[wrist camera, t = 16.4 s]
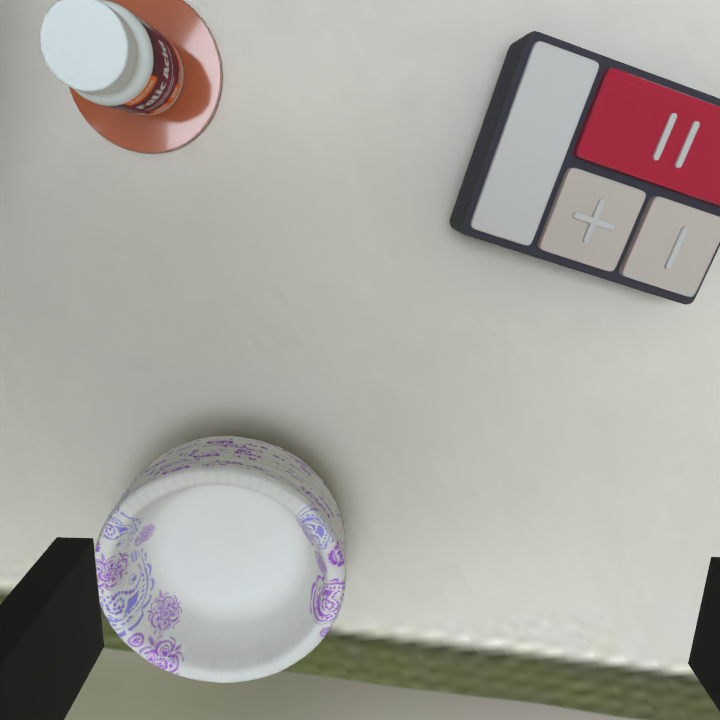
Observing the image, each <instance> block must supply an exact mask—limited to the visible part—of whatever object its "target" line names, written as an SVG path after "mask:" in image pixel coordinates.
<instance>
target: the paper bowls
mask: <svg viewBox="0 0 720 720" xmlns="http://www.w3.org/2000/svg"><path fill="white" fill-rule="evenodd" d="M95 562H96V572H97V582H98V591H99V601H100V605H101V607H102V609H103V612H104V614H105V616H106V618H107V619H108V621H109V623H110V624H111V626H112V628H113V629H114V630H115V631H116V633H117V634H118V635H119V636H120V638H121V639H122V640H123V641H124V642H125V643H126V644H127V645H128V646H129V647H131V648H132V649H133V650H134V651H135V652H136V653H138V654H139V655H140V656H142V657H143V658H144V659H146V660H148V661H149V662H150V663H153V664H154V665H156V666H158V667H160V668H162V669H164V670H166V671H169V672H172V673H174V674H176V675H179V676H183V677H187V678H190V679H195V680H201V681H209V682H221V683H231V682H242V681H247V680H254V679H258V678H262V677H265V676H269V675H271V674H274V673H277V672H280V671H282V670H284V669H286V668H287V667H289V666H291V665H293V664H294V663H296V662H297V661H299V660H300V659H302V658H303V657H305V656H306V655H307V654H308V653H309V652H311V651H312V650H313V649H314V648H315V647H316V646H317V645H318V644H319V643H320V642H321V640H322V639H323V638H324V637H325V636H326V634H327V632H328V631H329V630H330V628H331V627H332V625H333V623H334V621H335V619H336V618H337V616H338V613H339V611H340V608H341V604H342V601H343V595H344V590H345V581H346V541H345V531H344V524H343V520H342V516H341V513H340V510H339V507H338V505H337V504H336V500H335V499H334V498H333V496H332V494H331V492H330V491H329V489H328V487H327V486H326V484H325V483H324V482H323V480H322V479H321V478H320V477H319V476H318V475H317V474H316V472H315V471H313V470H312V469H311V468H310V467H309V466H308V465H307V464H306V463H304V462H303V461H302V460H301V459H300V458H298V457H296V456H295V455H293V454H291V453H290V452H288V451H286V450H283V449H282V448H281V447H277V446H275V445H272V444H269V443H266V442H263V441H260V440H255V439H250V438H244V437H236V436H211V437H204V438H200V439H196V440H193V441H190V442H187V443H184V444H181V445H179V446H177V447H175V448H173V449H171V450H169V451H167V452H165V453H164V454H163V455H161V456H160V457H159V458H157V459H156V460H154V461H153V462H151V463H150V464H149V465H148V466H147V467H146V468H145V469H144V470H143V471H142V472H141V473H140V474H139V475H138V476H137V477H136V478H135V479H134V481H133V482H132V484H131V485H130V486H129V488H128V489H127V490H126V492H125V493H124V494H123V496H122V497H121V499H120V500H119V501H118V504H117V505H116V506H115V508H114V509H113V510H112V512H111V513H110V515H109V516H108V518H107V520H106V522H105V524H104V526H103V528H102V530H101V532H100V535H99V538H98V541H97V544H96V549H95Z"/></svg>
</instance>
